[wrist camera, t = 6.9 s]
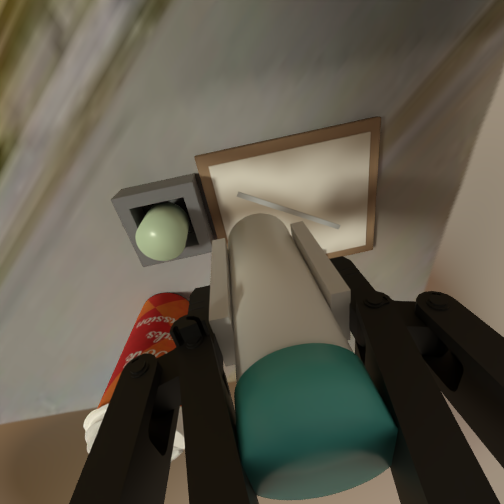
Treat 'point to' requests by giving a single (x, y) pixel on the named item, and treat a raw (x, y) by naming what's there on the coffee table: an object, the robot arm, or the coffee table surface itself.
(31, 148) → the coffee table surface
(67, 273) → the coffee table surface
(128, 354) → the coffee cup
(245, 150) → the drawing board
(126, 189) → the button housing
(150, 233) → the button
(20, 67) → the coffee table surface
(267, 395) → the marker
